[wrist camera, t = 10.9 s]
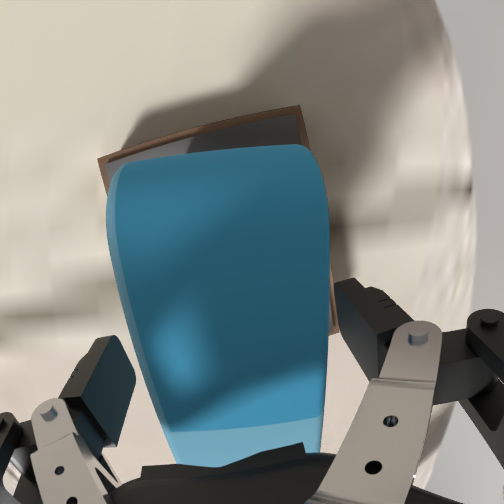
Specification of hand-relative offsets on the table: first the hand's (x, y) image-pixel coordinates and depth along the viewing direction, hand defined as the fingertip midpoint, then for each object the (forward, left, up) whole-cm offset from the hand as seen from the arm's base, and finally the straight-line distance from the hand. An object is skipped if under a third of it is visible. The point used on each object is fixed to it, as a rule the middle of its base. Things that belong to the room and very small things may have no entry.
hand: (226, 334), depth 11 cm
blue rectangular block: (0, 0, -8) cm, 8 cm away
